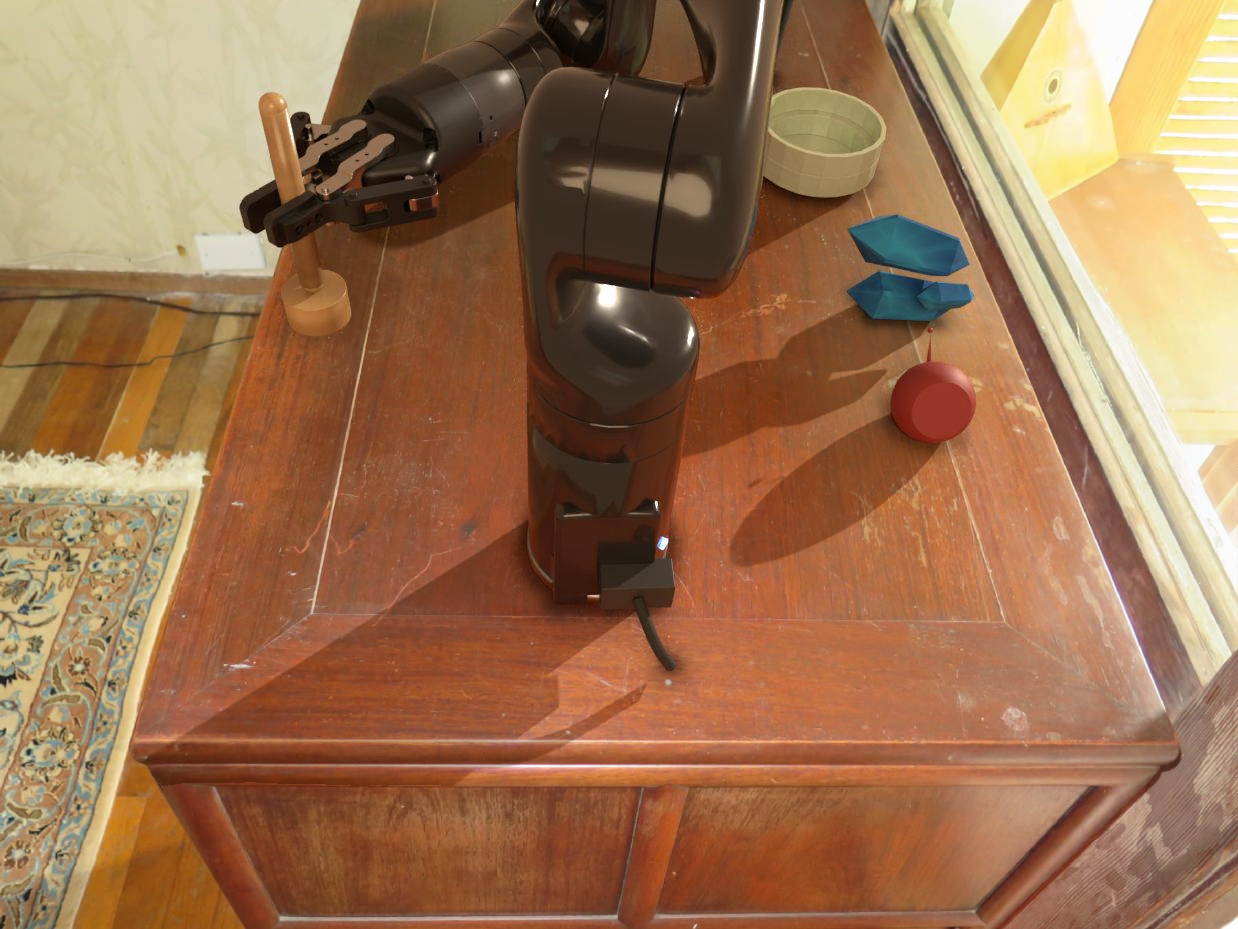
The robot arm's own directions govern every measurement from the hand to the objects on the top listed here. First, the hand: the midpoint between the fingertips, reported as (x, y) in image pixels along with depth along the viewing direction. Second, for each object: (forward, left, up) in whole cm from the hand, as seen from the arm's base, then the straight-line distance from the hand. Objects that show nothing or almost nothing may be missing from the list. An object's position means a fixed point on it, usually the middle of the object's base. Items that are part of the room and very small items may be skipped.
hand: (258, 226), depth 61 cm
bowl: (+31, -45, -16) cm, 57 cm away
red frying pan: (-2, -47, -16) cm, 50 cm away
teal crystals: (+10, -48, -16) cm, 52 cm away
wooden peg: (+2, -2, -9) cm, 10 cm away
